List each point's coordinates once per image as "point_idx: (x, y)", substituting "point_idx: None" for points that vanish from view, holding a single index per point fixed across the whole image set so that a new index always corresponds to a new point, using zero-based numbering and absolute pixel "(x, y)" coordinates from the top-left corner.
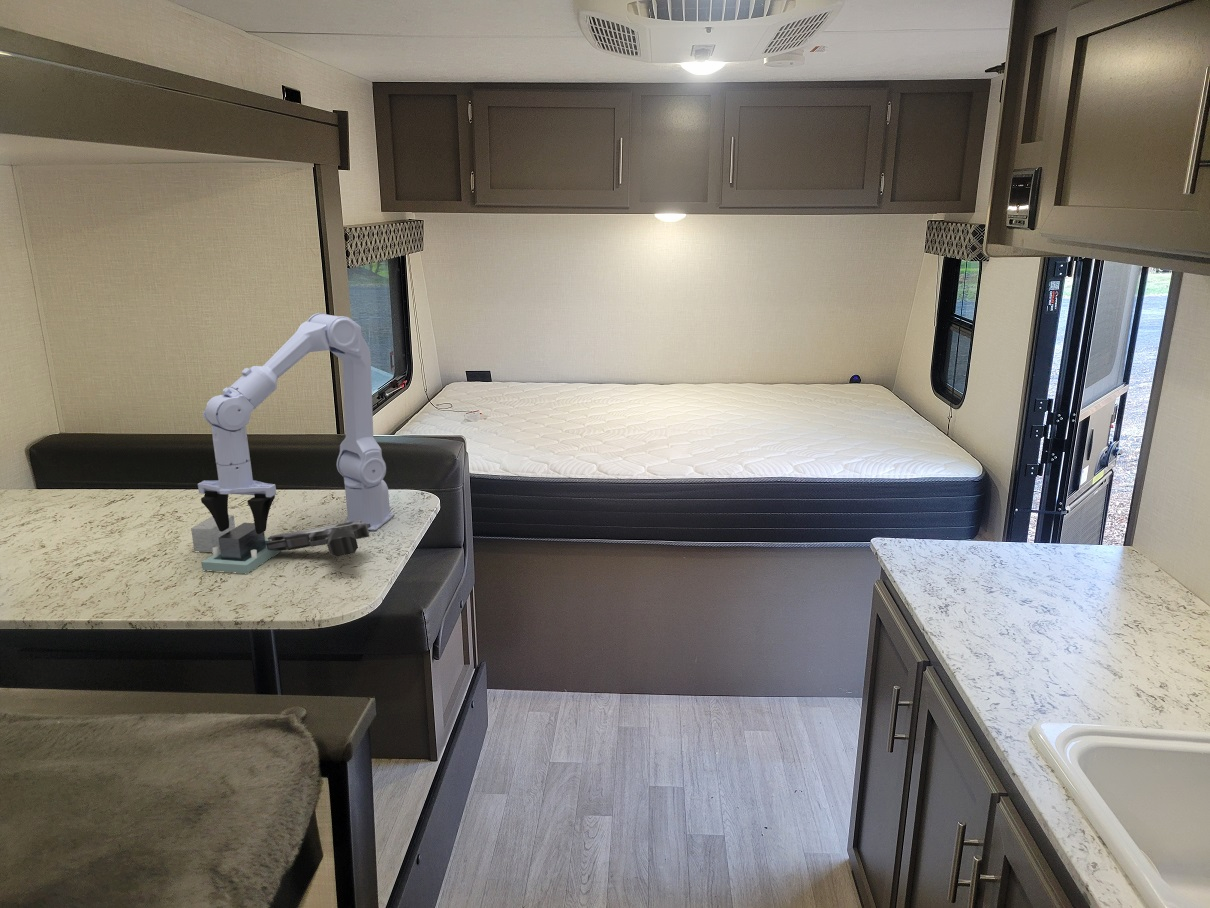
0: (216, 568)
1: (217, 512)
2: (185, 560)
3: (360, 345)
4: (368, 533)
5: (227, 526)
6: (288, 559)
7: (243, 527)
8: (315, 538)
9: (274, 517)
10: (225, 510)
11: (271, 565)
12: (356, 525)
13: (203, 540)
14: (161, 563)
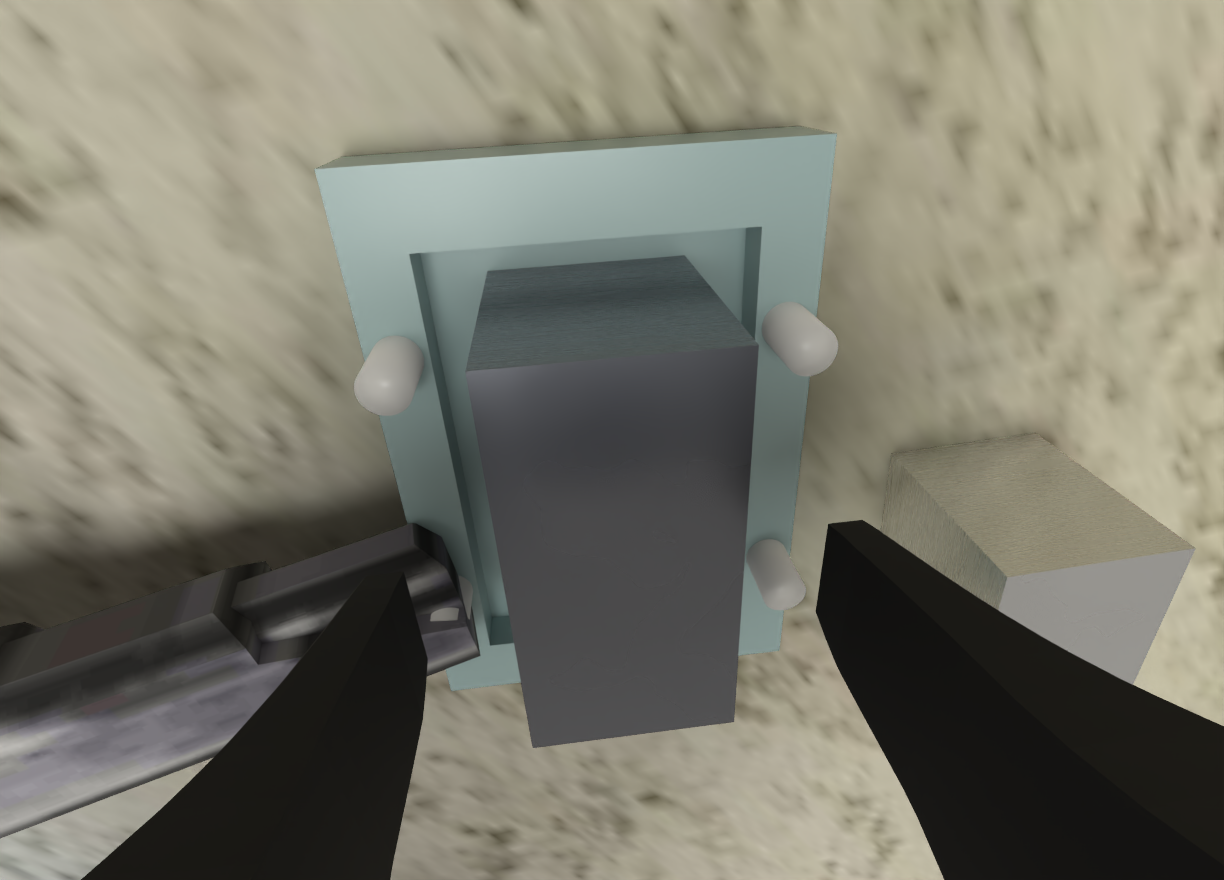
0: (663, 137)
1: (989, 703)
2: (1044, 293)
3: None
4: None
5: (827, 611)
6: (277, 502)
7: (660, 644)
8: None
9: (800, 863)
10: (927, 789)
11: (306, 381)
12: None
13: (1016, 498)
14: (1216, 192)
